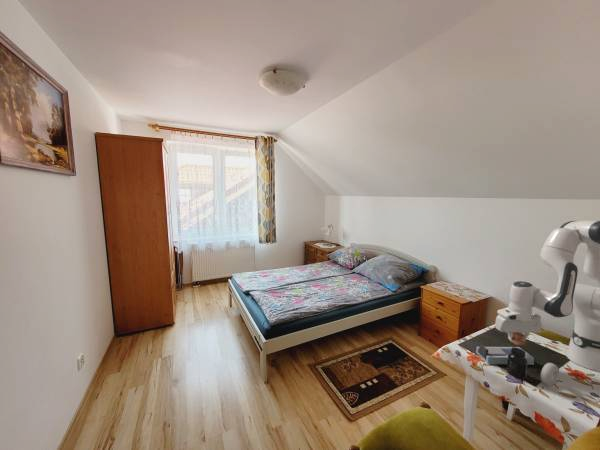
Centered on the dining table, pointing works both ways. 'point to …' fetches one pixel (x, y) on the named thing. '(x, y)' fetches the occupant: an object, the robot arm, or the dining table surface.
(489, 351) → the grey block
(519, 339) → the block
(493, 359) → the channel
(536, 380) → the dining table surface
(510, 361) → the supplement bottle
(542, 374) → the donut
